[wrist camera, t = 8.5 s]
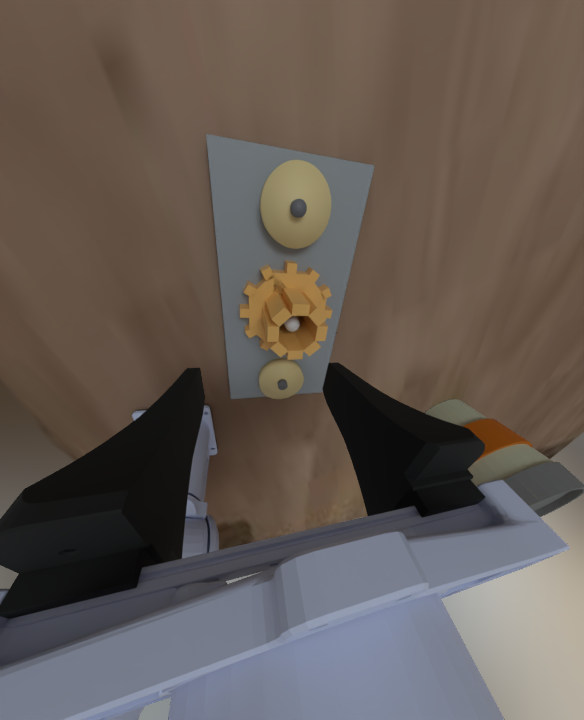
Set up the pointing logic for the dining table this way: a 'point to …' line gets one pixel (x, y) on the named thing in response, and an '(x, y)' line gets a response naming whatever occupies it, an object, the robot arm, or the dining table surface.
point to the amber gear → (287, 310)
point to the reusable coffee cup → (512, 460)
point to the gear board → (281, 248)
